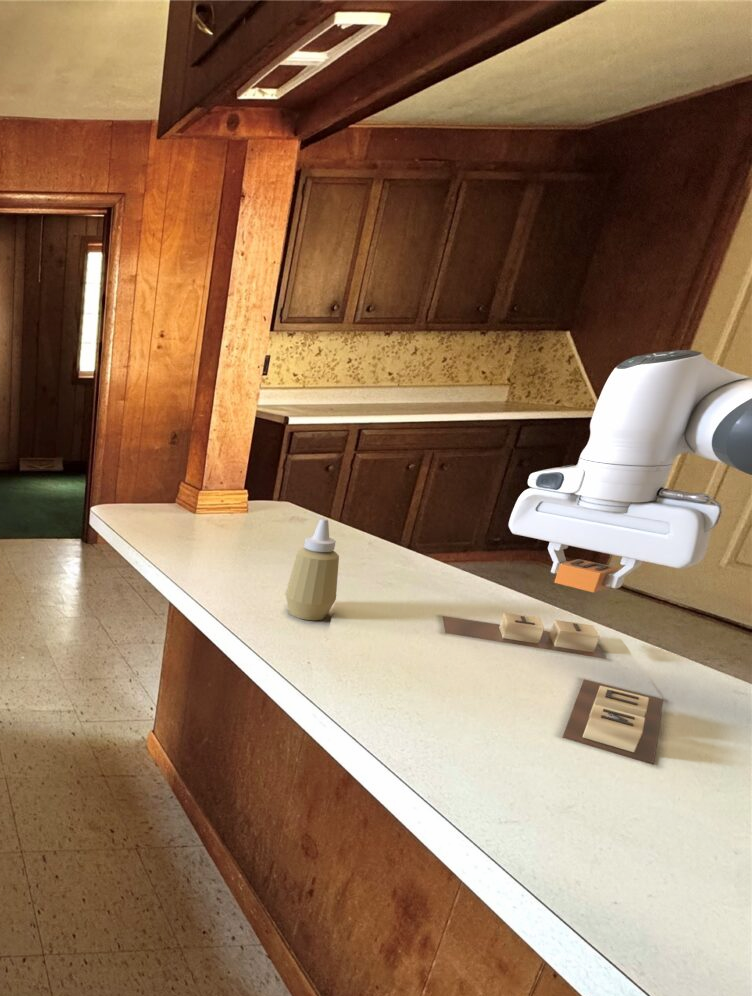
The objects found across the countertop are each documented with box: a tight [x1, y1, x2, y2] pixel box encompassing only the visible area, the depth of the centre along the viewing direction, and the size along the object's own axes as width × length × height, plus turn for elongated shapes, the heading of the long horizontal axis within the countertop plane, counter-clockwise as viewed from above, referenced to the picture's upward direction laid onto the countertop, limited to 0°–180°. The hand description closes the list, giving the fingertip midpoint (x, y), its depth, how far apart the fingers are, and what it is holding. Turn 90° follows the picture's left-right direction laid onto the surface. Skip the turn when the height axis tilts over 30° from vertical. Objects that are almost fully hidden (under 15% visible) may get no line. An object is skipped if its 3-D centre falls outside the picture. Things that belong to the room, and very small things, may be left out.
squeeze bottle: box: [285, 517, 340, 621], centre depth 117 cm, size 8×8×18 cm
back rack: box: [442, 612, 607, 660], centre depth 107 cm, size 20×8×4 cm, turn 58°
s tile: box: [553, 558, 620, 594], centre depth 92 cm, size 5×5×3 cm
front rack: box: [562, 679, 664, 765], centre depth 85 cm, size 20×8×4 cm, turn 133°
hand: (584, 579), depth 92 cm, fingers closed on s tile, 4 cm apart
